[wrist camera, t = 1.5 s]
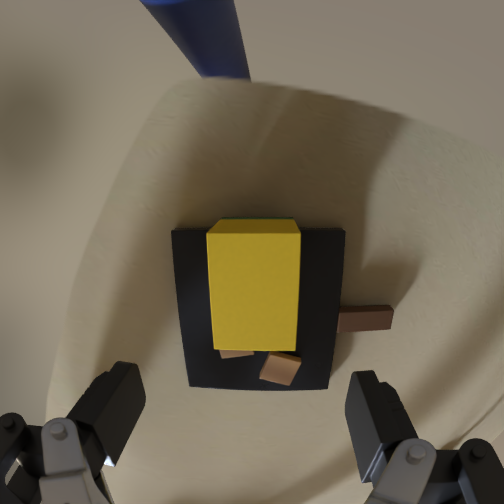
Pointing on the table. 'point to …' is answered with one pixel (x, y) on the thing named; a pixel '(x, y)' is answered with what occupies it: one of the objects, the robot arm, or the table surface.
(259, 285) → the sponge
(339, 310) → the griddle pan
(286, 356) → the scrap
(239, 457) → the table surface
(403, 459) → the robot arm
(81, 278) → the table surface
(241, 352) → the block
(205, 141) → the table surface
